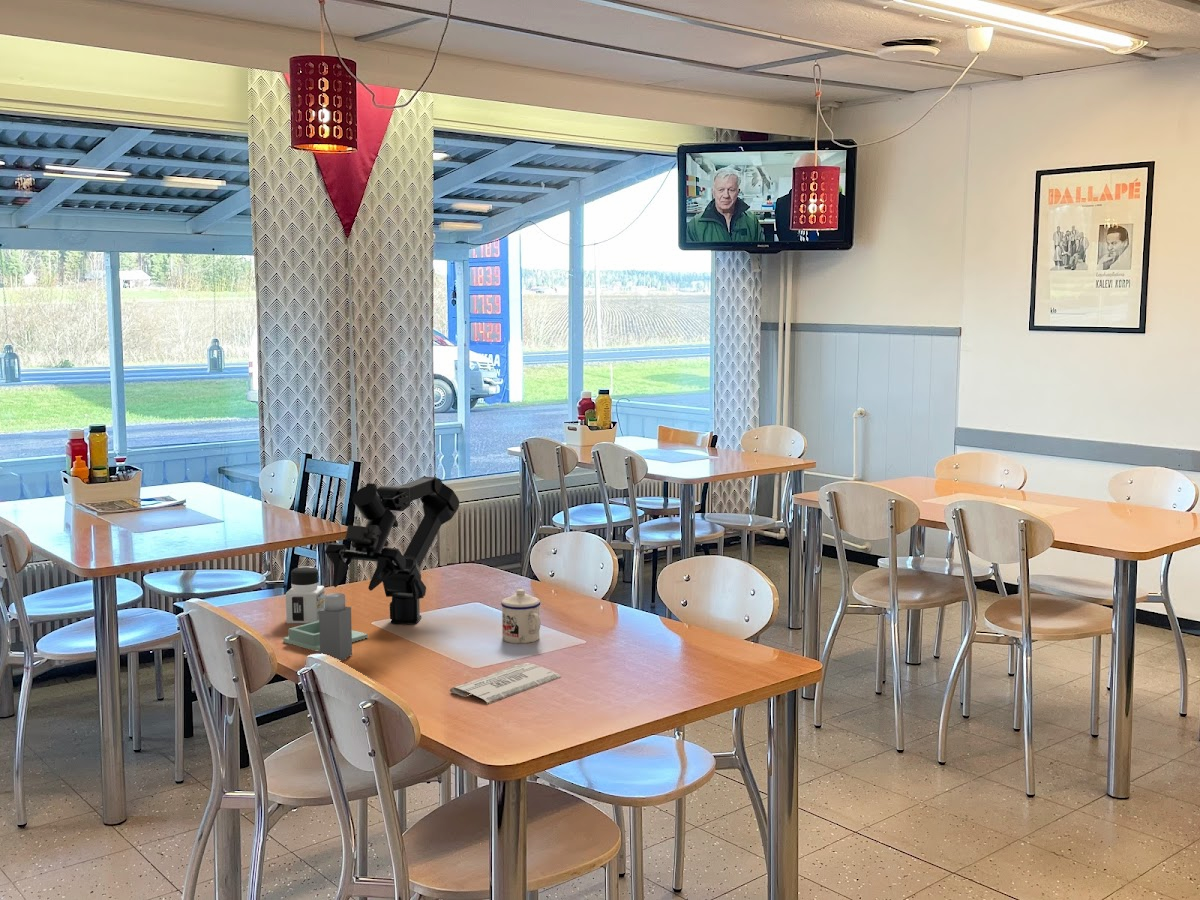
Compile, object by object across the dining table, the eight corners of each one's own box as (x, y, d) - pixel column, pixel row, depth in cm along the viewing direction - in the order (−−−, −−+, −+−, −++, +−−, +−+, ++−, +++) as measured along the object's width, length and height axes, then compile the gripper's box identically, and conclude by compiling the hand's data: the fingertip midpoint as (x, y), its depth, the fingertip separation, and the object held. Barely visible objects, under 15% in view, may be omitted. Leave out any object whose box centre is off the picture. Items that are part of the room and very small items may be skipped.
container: (317, 623, 283) (316, 571, 282) (286, 623, 283) (284, 571, 282) (325, 615, 291) (324, 564, 289) (294, 615, 291) (293, 564, 289)
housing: (331, 628, 279) (331, 614, 278) (367, 638, 271) (367, 623, 270) (283, 641, 268) (283, 627, 267) (319, 652, 260) (319, 636, 259)
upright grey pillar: (332, 653, 259) (330, 591, 258) (352, 655, 258) (350, 593, 256) (320, 659, 255) (318, 597, 253) (340, 661, 253) (338, 599, 251)
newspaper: (518, 668, 251) (519, 657, 250) (560, 685, 243) (561, 674, 243) (440, 694, 233) (441, 682, 233) (483, 713, 226) (484, 701, 225)
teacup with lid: (493, 637, 272) (493, 589, 270) (526, 631, 277) (525, 583, 276) (522, 649, 262) (522, 599, 261) (555, 642, 268) (555, 593, 266)
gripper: (328, 508, 268) (301, 564, 259) (399, 513, 262) (374, 571, 253) (347, 536, 277) (322, 591, 268) (416, 542, 270) (393, 598, 261)
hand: (352, 587), depth 262 cm, fingers open, 9 cm apart
